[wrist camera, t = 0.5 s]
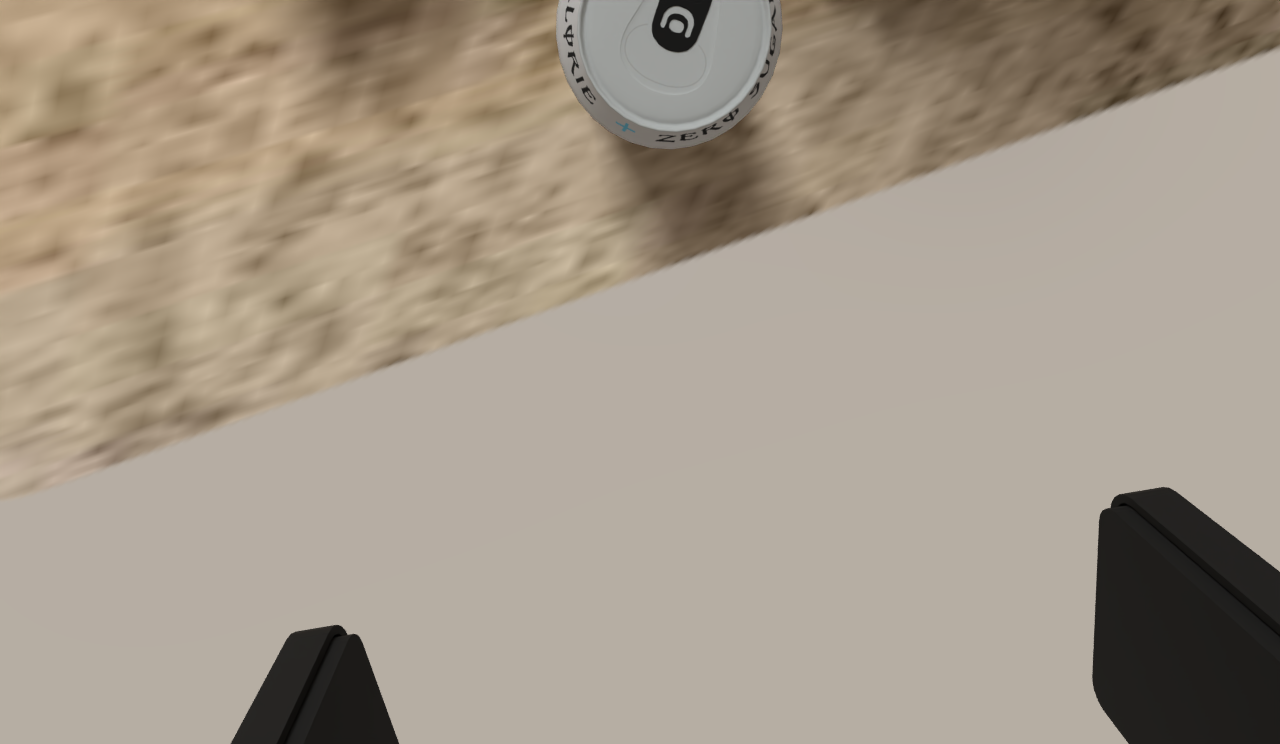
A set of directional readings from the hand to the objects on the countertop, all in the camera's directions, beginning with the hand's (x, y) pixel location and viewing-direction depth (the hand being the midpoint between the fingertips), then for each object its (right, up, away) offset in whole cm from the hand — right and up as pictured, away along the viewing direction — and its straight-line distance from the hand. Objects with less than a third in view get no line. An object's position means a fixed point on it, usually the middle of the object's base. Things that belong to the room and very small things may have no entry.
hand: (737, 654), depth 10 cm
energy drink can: (-1, +17, +24) cm, 30 cm away
